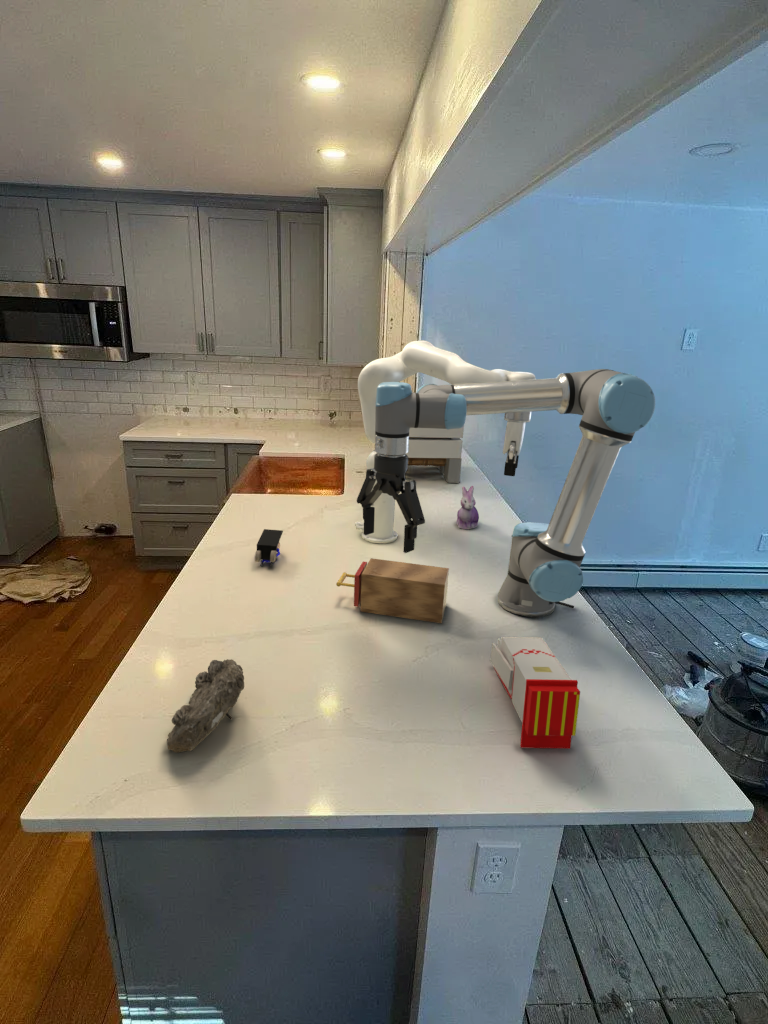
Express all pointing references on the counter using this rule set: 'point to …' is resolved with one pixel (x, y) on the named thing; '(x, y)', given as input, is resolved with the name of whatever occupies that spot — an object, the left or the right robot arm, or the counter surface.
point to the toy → (537, 691)
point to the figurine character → (268, 546)
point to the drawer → (356, 583)
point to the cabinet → (404, 590)
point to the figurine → (467, 510)
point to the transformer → (437, 450)
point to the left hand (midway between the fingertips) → (510, 471)
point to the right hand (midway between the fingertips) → (388, 542)
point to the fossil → (206, 705)
